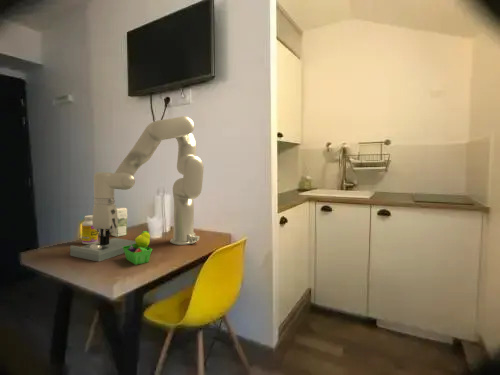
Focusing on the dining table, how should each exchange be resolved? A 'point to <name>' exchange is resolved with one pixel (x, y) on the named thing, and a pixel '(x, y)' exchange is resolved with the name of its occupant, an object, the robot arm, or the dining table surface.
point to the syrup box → (121, 223)
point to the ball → (96, 246)
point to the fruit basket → (139, 249)
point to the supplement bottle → (89, 231)
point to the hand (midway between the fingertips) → (104, 244)
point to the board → (98, 255)
